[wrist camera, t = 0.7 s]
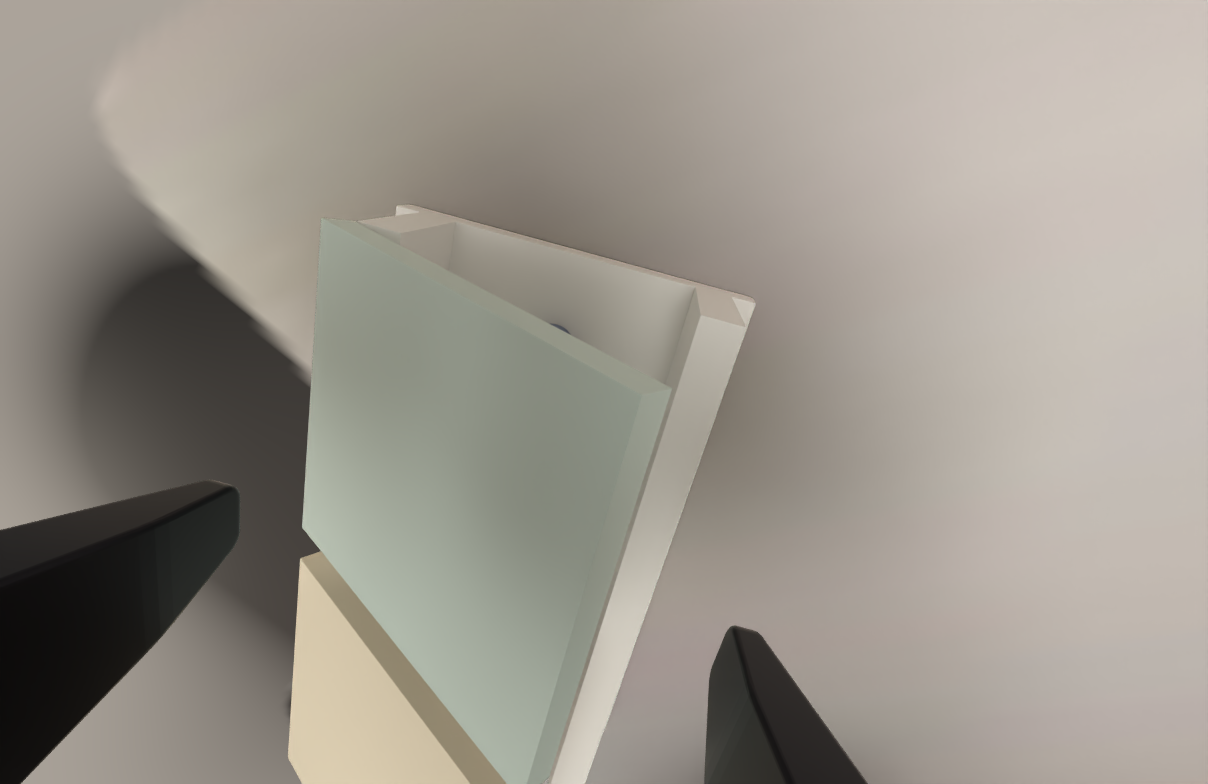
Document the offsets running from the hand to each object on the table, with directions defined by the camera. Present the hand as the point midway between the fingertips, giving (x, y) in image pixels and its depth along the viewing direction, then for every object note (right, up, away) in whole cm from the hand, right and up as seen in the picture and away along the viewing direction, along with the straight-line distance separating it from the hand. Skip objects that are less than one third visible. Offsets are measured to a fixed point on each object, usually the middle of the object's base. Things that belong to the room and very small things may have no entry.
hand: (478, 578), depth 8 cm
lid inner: (-5, -9, +9) cm, 13 cm away
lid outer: (-2, +1, +5) cm, 6 cm away
